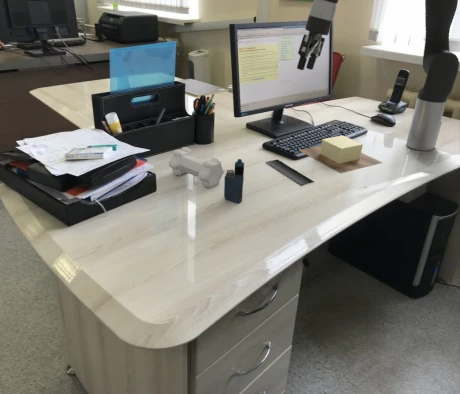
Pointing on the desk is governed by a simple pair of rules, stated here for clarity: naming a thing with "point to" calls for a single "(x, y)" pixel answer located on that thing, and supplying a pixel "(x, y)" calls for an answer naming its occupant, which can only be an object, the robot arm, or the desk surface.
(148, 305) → the desk surface
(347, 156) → the memo block
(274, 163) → the mat
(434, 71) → the robot arm
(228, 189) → the vaping device
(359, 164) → the brown cloth
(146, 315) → the desk surface
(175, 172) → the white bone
